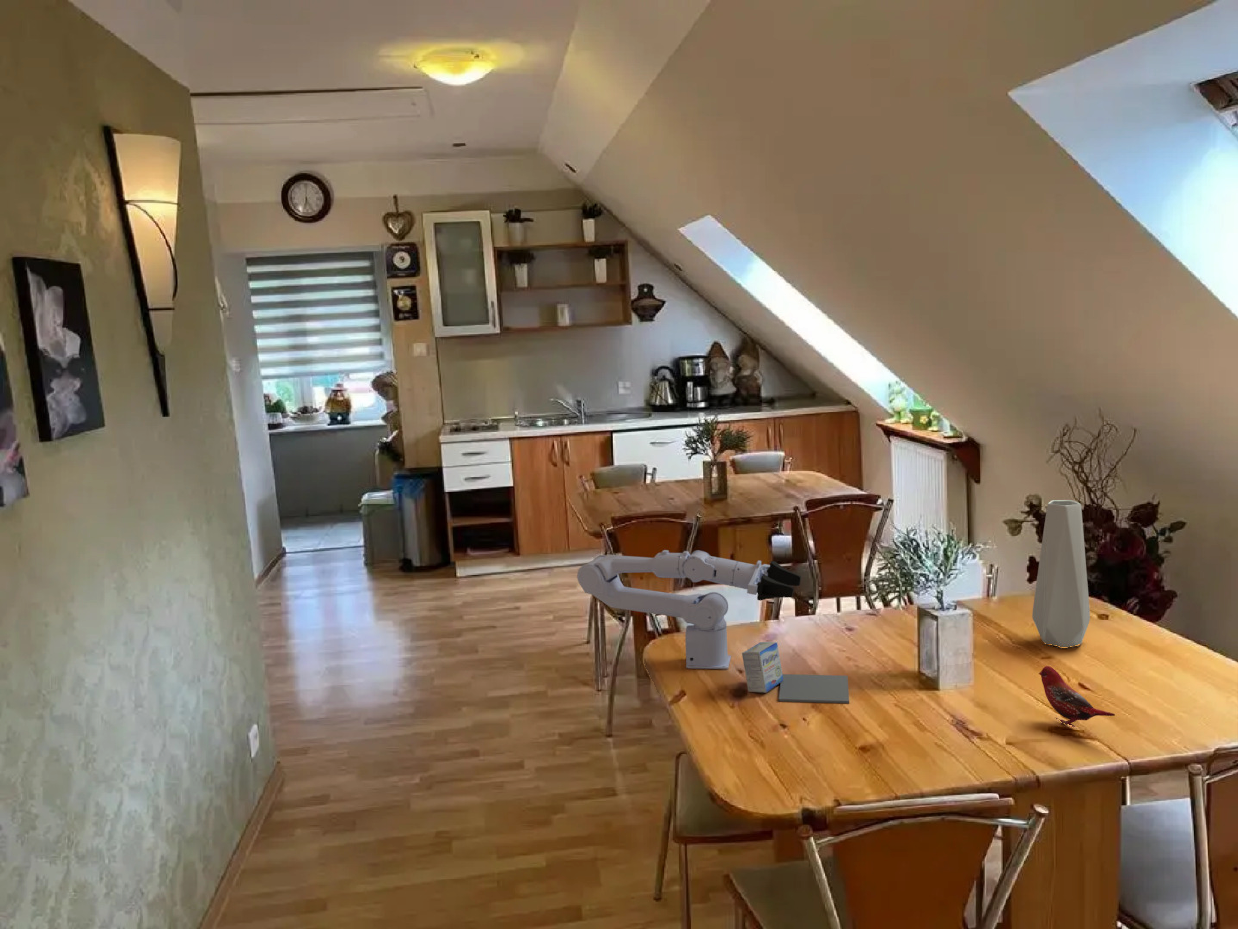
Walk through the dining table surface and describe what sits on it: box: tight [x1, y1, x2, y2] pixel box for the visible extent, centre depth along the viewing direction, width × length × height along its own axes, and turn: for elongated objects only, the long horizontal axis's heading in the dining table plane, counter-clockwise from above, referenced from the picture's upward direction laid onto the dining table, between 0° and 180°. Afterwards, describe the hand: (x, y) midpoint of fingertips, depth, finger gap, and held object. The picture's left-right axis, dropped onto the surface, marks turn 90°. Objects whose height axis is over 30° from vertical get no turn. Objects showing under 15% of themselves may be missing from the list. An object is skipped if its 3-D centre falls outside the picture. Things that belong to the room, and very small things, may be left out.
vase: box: [1031, 499, 1091, 647], centre depth 219 cm, size 12×12×33 cm
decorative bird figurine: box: [1038, 665, 1116, 728], centre depth 176 cm, size 3×18×10 cm, turn 20°
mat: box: [778, 673, 850, 704], centre depth 202 cm, size 14×14×1 cm
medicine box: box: [741, 641, 783, 694], centre depth 204 cm, size 8×4×9 cm, turn 143°
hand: (796, 586), depth 210 cm, fingers open, 7 cm apart
